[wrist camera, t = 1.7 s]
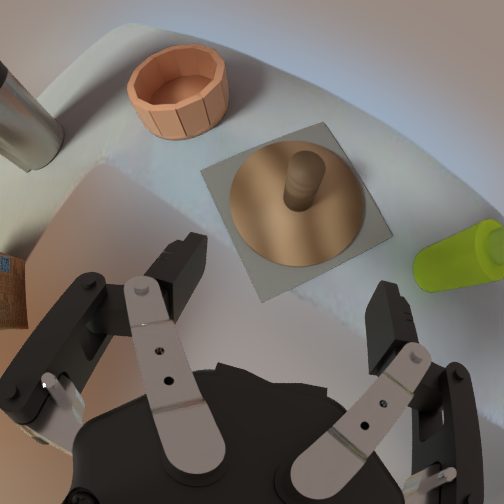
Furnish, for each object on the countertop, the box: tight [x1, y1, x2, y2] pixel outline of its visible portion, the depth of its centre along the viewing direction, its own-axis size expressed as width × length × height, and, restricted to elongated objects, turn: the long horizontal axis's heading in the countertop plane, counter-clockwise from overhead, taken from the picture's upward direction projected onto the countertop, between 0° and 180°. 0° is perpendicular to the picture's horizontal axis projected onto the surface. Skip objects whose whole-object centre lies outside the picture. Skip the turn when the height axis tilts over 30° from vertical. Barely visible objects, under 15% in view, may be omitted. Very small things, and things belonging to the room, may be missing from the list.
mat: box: [200, 122, 392, 303], centre depth 36 cm, size 18×18×1 cm
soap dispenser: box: [413, 219, 504, 292], centre depth 24 cm, size 6×7×20 cm
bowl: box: [127, 44, 229, 140], centre depth 36 cm, size 13×13×7 cm
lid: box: [230, 141, 363, 267], centre depth 31 cm, size 16×16×9 cm
